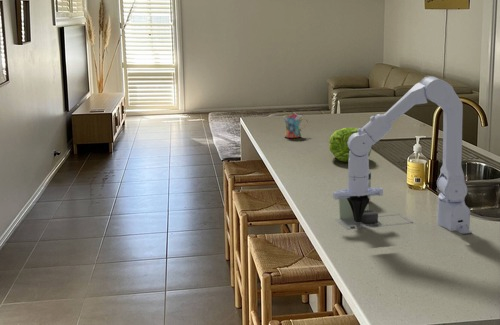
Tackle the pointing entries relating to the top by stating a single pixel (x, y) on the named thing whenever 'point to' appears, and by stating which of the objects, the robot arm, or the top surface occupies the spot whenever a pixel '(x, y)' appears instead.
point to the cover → (346, 209)
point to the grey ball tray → (353, 224)
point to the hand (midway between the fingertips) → (357, 221)
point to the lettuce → (341, 143)
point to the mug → (293, 125)
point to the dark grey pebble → (370, 217)
